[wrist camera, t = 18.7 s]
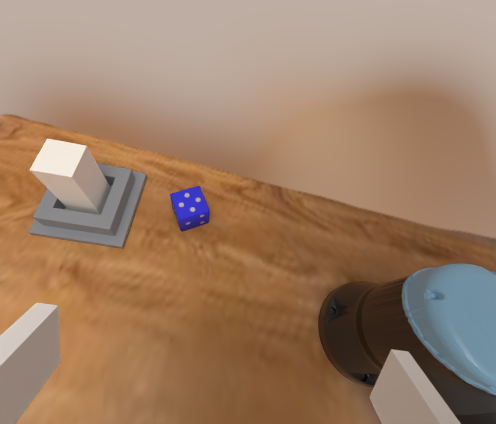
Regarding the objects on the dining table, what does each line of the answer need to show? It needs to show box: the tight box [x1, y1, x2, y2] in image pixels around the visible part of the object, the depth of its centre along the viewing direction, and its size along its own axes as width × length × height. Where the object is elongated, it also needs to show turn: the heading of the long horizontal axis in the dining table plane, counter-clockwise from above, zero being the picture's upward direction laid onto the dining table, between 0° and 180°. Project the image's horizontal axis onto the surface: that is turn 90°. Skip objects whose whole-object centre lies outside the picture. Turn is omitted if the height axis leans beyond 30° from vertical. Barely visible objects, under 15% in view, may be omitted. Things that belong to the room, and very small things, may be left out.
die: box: [170, 186, 209, 231], centre depth 46 cm, size 5×5×5 cm
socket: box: [28, 163, 147, 249], centre depth 45 cm, size 14×14×4 cm
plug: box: [30, 139, 111, 215], centre depth 40 cm, size 5×5×12 cm
